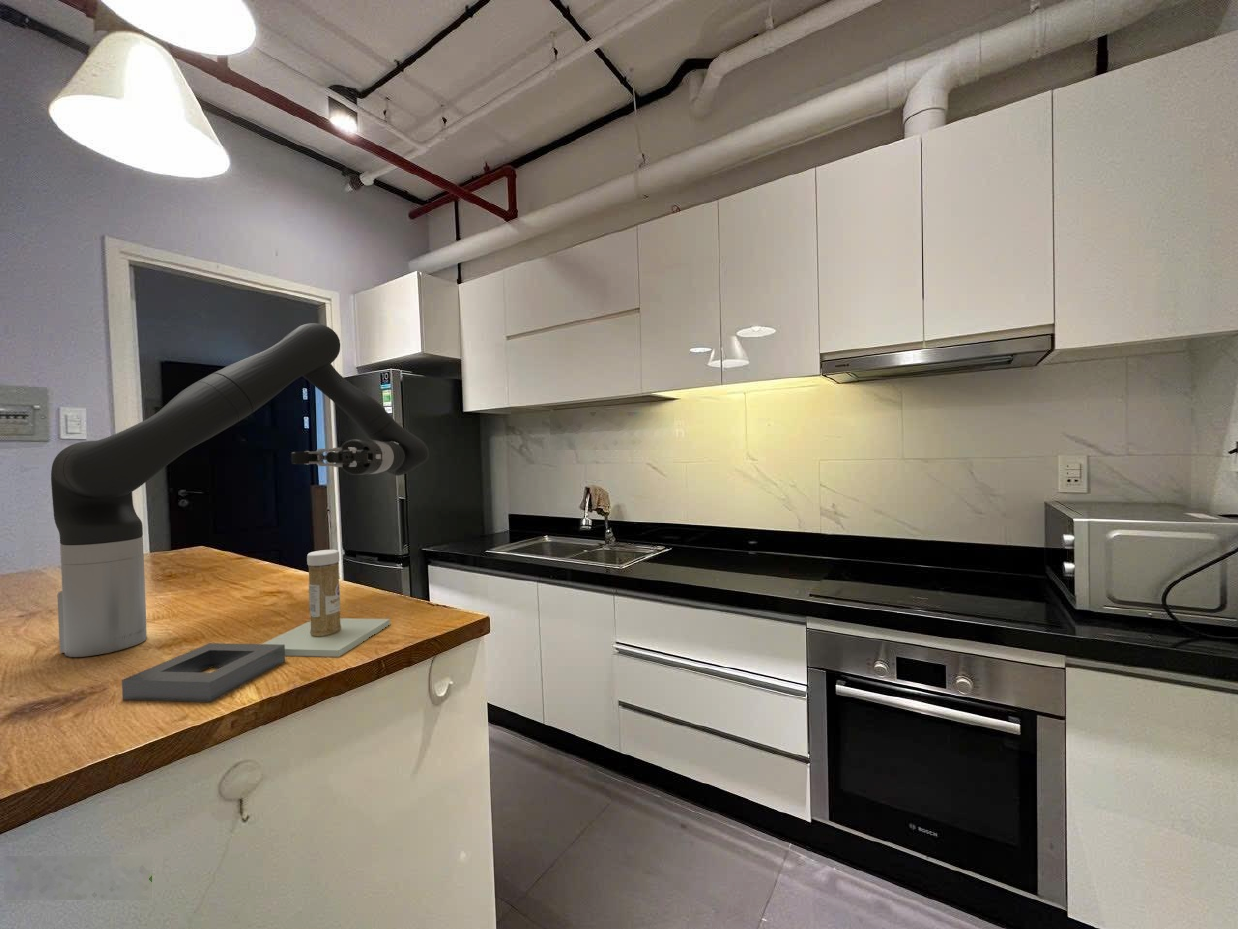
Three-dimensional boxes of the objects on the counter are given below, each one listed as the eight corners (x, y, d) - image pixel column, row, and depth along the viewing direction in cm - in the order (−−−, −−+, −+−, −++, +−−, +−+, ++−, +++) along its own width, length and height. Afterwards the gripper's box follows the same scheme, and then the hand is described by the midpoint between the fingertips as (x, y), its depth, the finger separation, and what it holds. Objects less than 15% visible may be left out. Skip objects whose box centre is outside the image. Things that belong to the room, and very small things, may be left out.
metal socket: (122, 699, 62) (121, 679, 62) (210, 659, 74) (209, 643, 74) (210, 702, 61) (210, 682, 61) (285, 661, 73) (284, 644, 73)
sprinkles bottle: (342, 633, 81) (340, 552, 81) (309, 639, 79) (307, 555, 78) (340, 625, 85) (338, 547, 85) (309, 631, 83) (306, 551, 82)
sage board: (252, 655, 75) (252, 648, 75) (316, 623, 89) (316, 618, 89) (339, 656, 74) (338, 650, 74) (390, 624, 88) (390, 619, 88)
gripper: (335, 440, 108) (277, 437, 91) (398, 438, 106) (350, 436, 90) (336, 474, 108) (279, 478, 92) (399, 473, 106) (351, 477, 90)
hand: (314, 457), depth 91 cm, fingers open, 8 cm apart
